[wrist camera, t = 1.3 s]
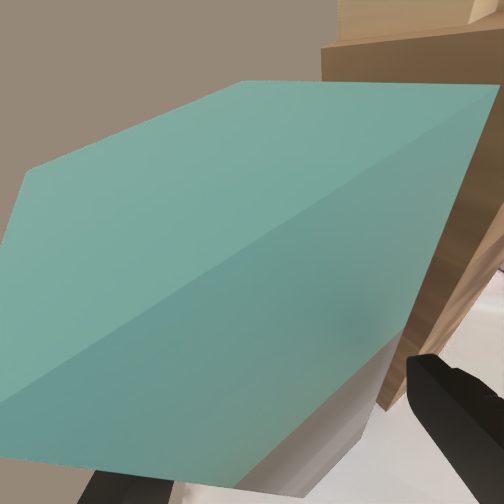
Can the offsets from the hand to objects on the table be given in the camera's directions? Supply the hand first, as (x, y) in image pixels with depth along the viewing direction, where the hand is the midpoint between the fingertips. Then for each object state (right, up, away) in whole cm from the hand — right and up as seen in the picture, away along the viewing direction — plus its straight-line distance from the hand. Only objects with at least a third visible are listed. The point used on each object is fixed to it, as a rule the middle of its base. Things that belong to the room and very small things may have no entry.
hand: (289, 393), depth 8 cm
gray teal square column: (+5, -15, +19) cm, 25 cm away
